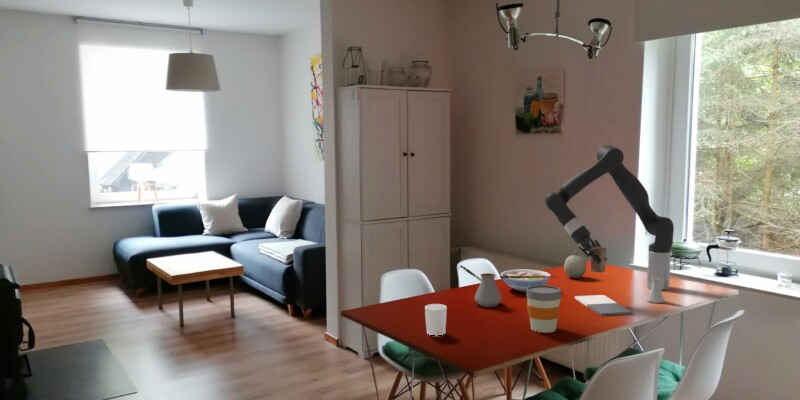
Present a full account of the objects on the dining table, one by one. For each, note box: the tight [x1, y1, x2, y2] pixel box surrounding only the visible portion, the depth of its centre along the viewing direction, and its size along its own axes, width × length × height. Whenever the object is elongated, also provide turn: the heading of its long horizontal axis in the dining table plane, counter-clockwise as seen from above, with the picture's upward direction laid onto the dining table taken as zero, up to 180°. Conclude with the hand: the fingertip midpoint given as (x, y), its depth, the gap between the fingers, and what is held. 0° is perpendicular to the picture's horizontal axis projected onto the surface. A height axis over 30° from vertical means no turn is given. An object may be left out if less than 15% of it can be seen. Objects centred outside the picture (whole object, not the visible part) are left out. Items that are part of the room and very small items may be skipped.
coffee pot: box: [459, 265, 503, 308], centre depth 259 cm, size 21×12×15 cm, turn 44°
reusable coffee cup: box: [525, 284, 562, 334], centre depth 222 cm, size 13×13×15 cm
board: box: [574, 294, 633, 317], centre depth 251 cm, size 26×13×1 cm, turn 6°
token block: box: [590, 246, 607, 274], centre depth 256 cm, size 4×4×10 cm
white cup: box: [424, 303, 448, 337], centre depth 219 cm, size 8×8×10 cm
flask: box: [646, 278, 665, 304], centre depth 256 cm, size 7×7×10 cm
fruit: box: [563, 246, 589, 279], centre depth 301 cm, size 10×12×15 cm
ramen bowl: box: [499, 268, 556, 293], centre depth 279 cm, size 25×23×8 cm
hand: (602, 261), depth 254 cm, fingers closed on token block, 4 cm apart
